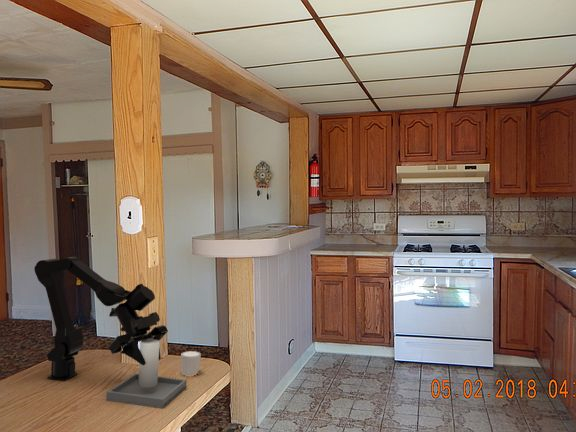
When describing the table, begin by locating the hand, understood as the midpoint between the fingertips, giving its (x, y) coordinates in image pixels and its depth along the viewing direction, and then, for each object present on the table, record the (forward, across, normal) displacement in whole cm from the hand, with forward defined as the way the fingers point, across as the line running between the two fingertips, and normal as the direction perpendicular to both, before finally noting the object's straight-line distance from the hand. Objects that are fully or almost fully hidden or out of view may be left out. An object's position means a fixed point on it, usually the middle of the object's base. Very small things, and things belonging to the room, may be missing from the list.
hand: (152, 362), depth 140 cm
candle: (+4, 0, +6) cm, 7 cm away
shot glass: (+5, +21, +10) cm, 23 cm away
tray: (+6, 0, +8) cm, 10 cm away
